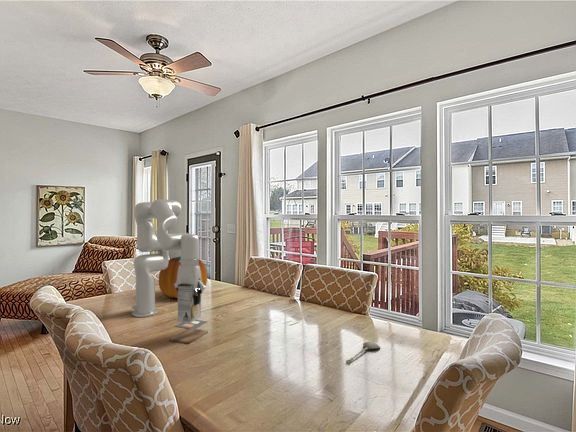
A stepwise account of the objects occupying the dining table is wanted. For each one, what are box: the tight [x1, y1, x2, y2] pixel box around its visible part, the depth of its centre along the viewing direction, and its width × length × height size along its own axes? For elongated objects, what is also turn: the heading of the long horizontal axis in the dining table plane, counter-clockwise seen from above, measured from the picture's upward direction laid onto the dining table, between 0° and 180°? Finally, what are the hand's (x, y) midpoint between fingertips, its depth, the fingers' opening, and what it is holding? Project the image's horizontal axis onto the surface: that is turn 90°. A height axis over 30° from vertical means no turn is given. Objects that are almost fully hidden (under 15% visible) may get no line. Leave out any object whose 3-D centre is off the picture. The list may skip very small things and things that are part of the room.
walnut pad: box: [169, 328, 209, 345], centre depth 137 cm, size 10×13×1 cm
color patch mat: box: [175, 319, 208, 329], centre depth 152 cm, size 11×11×1 cm
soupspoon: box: [345, 341, 381, 365], centre depth 121 cm, size 22×3×7 cm
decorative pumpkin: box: [158, 255, 208, 299], centre depth 204 cm, size 30×30×30 cm
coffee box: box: [177, 284, 202, 323], centre depth 137 cm, size 9×6×16 cm
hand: (189, 303), depth 137 cm, fingers closed on coffee box, 7 cm apart
